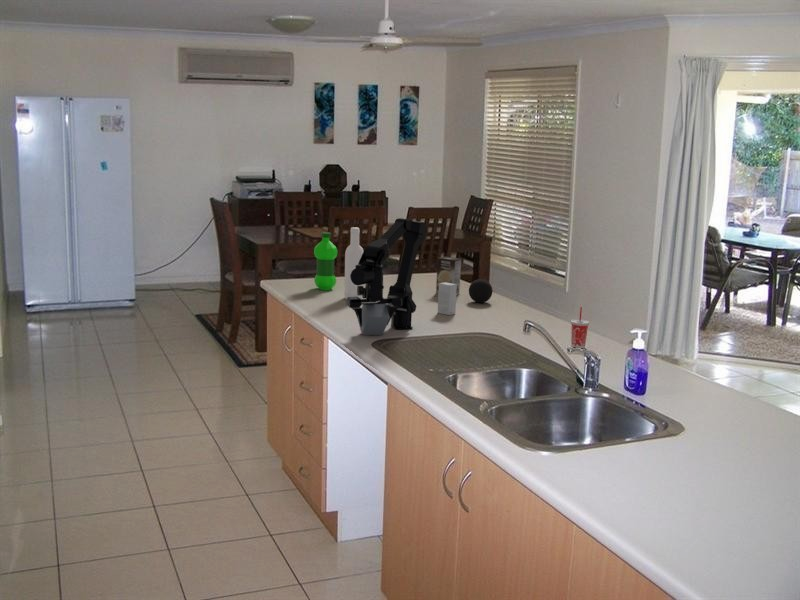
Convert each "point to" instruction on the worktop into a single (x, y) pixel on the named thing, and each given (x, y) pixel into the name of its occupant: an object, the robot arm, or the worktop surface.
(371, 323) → the grey block
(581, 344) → the beverage cup
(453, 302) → the skincare box
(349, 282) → the bottle
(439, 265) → the coffee box
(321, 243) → the plastic bottle
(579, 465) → the worktop surface
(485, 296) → the speaker
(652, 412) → the worktop surface
